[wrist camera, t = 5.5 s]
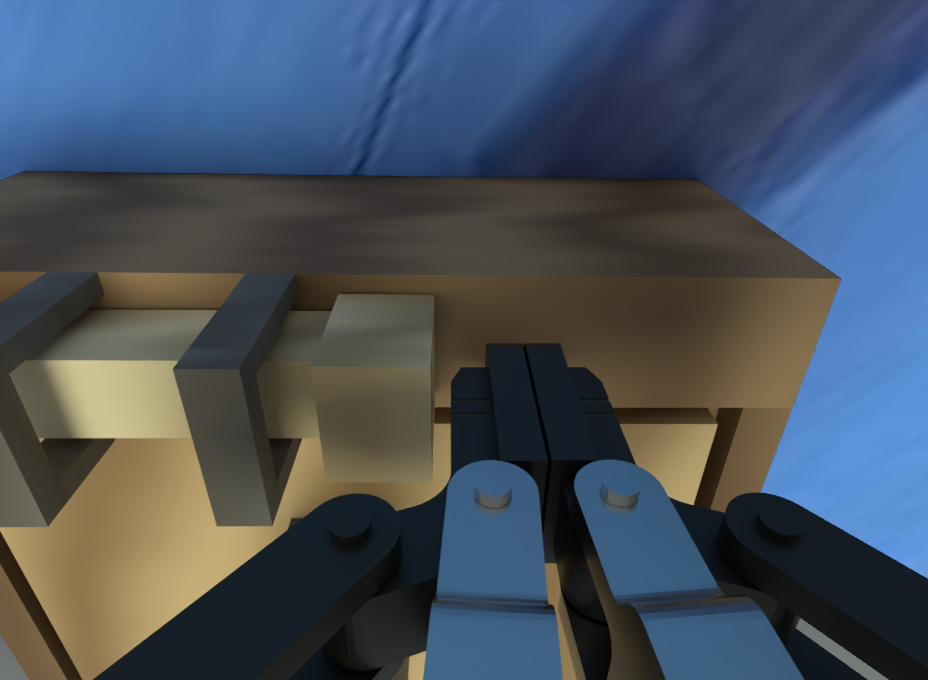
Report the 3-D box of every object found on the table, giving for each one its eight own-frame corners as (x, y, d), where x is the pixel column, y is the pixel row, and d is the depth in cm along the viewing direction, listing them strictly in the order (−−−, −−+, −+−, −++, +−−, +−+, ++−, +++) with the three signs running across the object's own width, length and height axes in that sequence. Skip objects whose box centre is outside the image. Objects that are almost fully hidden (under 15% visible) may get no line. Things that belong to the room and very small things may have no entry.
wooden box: (699, 180, 19) (975, 371, 9) (617, 549, 28) (709, 850, 18) (24, 171, 18) (-484, 366, 8) (161, 551, 27) (-5, 864, 17)
